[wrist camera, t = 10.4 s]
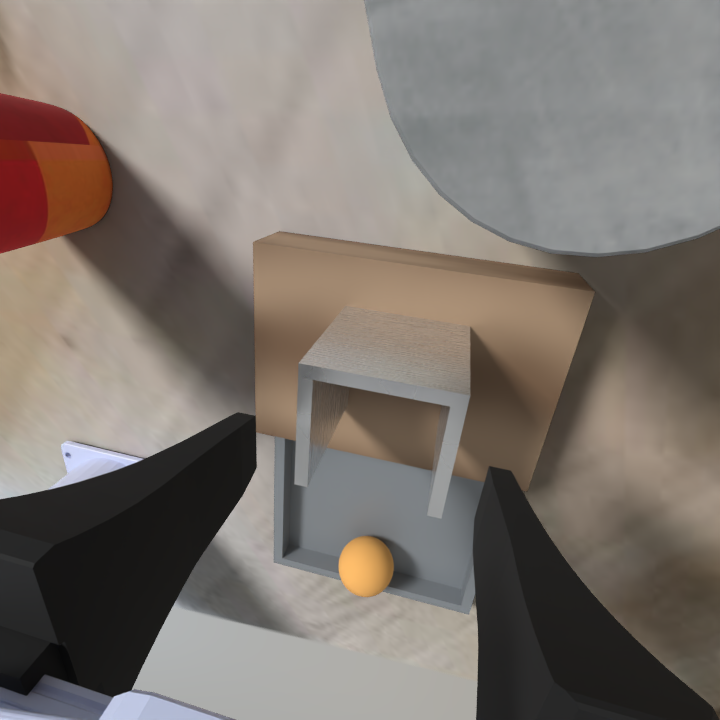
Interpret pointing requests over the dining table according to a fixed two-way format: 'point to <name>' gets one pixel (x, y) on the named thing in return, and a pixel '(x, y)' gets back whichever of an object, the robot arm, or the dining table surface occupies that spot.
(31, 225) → the coffee cup
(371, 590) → the ball
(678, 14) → the hip flask
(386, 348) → the grey arch
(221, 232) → the dining table surface
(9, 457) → the dining table surface
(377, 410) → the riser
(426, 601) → the tray
